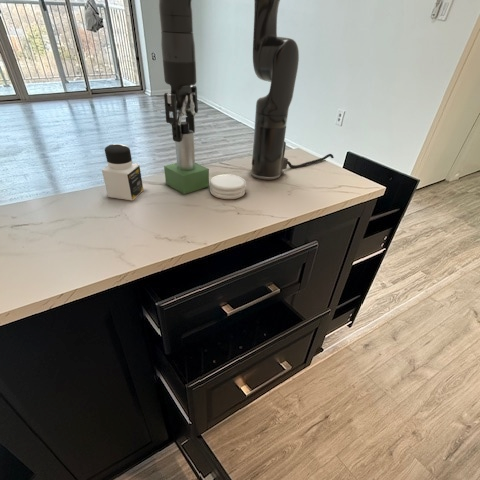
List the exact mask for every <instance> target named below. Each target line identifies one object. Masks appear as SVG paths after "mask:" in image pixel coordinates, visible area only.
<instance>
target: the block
mask: <svg viewBox="0 0 480 480" xmlns="http://www.w3.org/2000/svg"><path fill="white" fill-rule="evenodd" d="M163 170H164V171H163V172H164V179H165V185H168V186H169V187H171V188H173V189H174V190H176V191H178V192H179V193H181V194H183V195H187V194H189V193H193V192H196V191H199V190H203V189H205V188H210V169H209V168H208V167H206V166H204V165H201V164H199V163H197V162H195V169H193V170H189V171H184V170H180V169H178V168H177V162H175V163H171V164H167V165H164V166H163Z"/></svg>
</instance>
